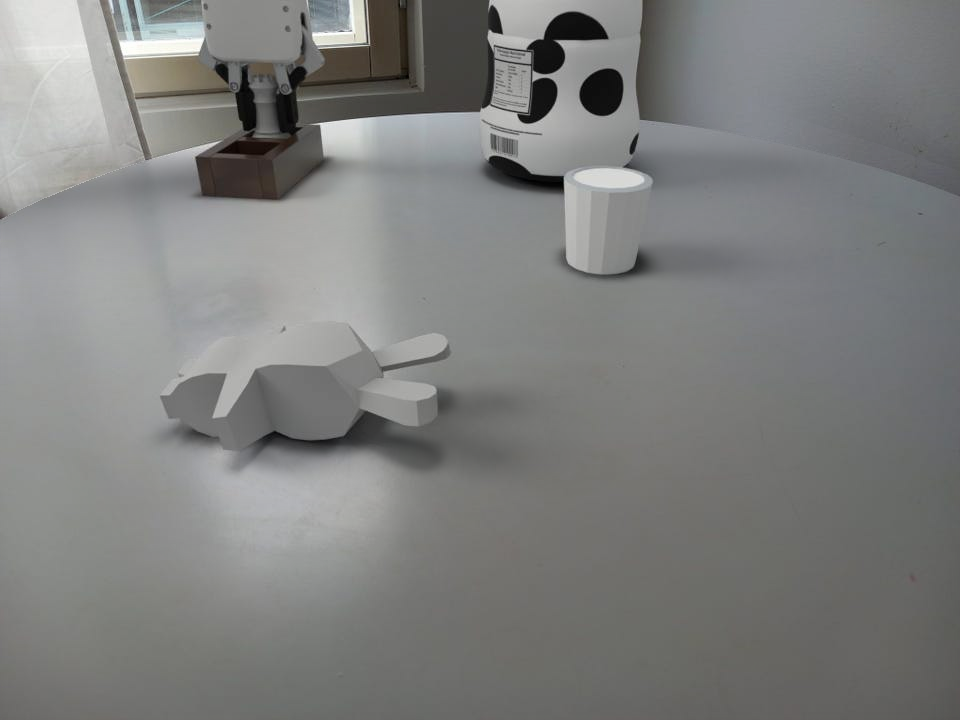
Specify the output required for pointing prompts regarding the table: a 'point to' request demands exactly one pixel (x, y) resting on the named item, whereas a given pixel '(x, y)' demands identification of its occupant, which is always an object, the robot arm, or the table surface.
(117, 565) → the table surface
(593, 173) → the shot glass
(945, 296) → the table surface
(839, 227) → the table surface
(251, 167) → the rack
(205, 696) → the table surface
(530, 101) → the milk container
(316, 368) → the bunny figurine
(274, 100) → the rook chess piece
